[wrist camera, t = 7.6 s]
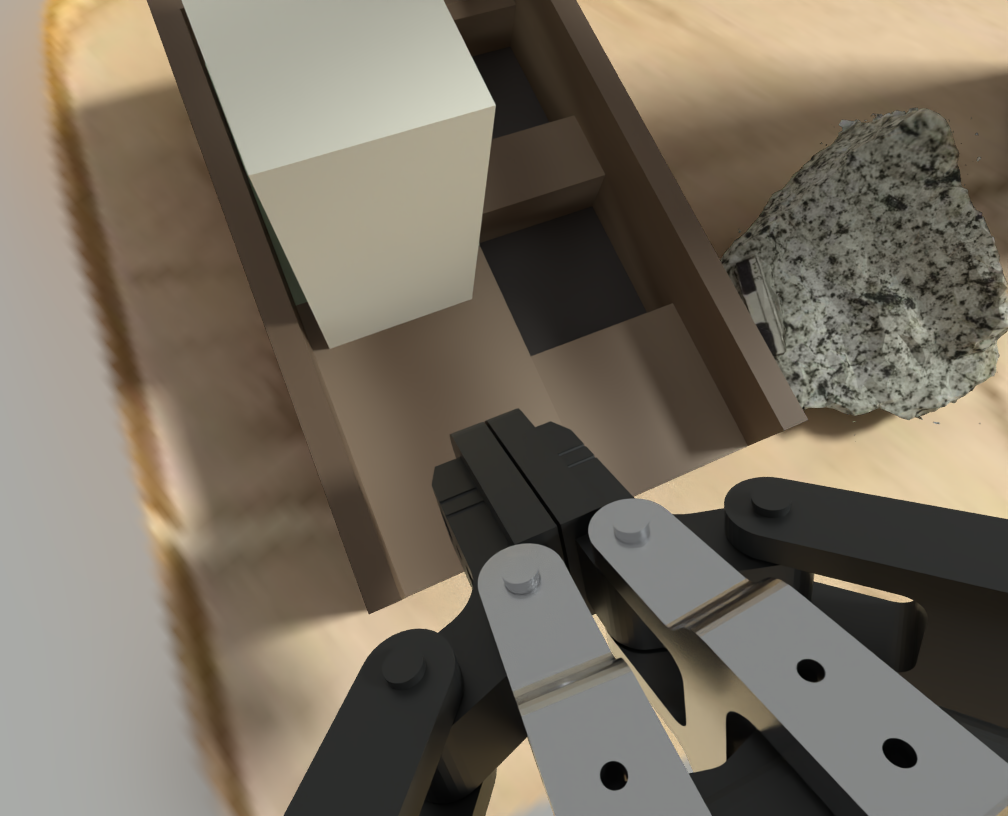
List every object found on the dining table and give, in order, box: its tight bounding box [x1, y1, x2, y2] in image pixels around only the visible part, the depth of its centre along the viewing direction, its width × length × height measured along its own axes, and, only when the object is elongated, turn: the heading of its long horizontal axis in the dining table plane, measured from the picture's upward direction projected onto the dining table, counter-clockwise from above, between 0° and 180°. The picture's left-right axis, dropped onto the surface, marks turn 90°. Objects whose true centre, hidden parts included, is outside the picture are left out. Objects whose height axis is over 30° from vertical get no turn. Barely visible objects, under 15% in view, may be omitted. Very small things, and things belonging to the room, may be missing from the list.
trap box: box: [147, 0, 808, 614], centre depth 19 cm, size 12×19×4 cm, turn 23°
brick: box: [182, 0, 496, 349], centre depth 15 cm, size 4×10×8 cm, turn 24°
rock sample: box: [721, 108, 1008, 442], centre depth 20 cm, size 10×8×9 cm
